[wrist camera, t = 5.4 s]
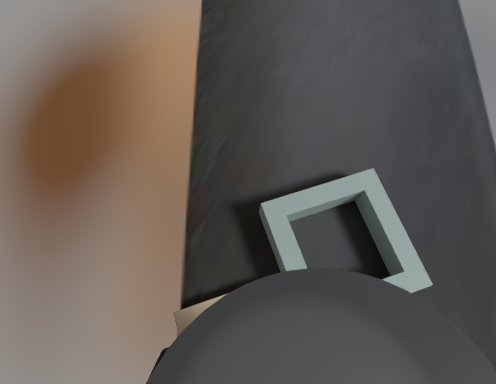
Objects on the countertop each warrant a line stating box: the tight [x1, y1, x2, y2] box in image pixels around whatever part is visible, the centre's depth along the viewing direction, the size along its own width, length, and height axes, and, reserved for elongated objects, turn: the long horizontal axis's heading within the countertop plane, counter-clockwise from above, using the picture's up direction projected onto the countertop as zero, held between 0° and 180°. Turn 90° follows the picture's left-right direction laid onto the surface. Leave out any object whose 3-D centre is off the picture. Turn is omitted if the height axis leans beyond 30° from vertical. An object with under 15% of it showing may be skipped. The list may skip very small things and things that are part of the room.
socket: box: [259, 168, 433, 293], centre depth 22 cm, size 8×8×2 cm
